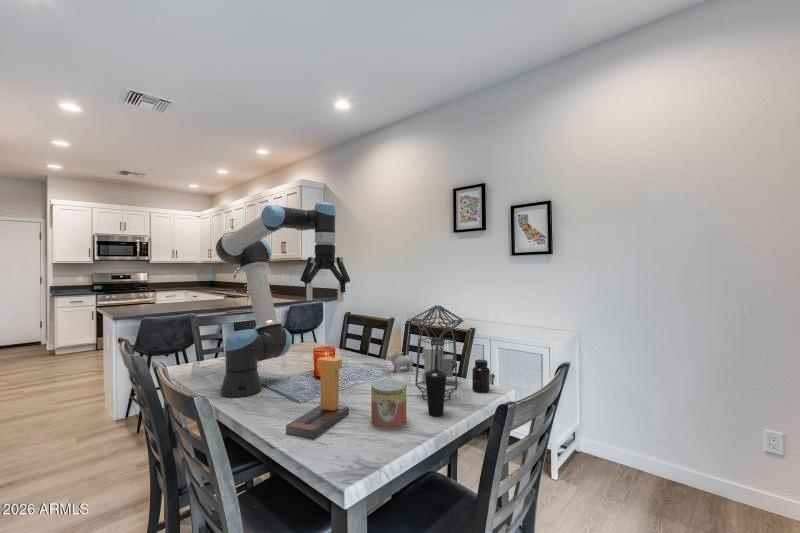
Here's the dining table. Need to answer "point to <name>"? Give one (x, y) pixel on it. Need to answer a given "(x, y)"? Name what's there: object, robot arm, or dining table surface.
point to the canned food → (388, 404)
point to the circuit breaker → (446, 361)
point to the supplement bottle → (481, 377)
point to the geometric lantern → (436, 341)
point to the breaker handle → (329, 382)
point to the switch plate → (316, 422)
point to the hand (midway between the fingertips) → (324, 301)
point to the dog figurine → (400, 360)
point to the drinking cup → (435, 390)
